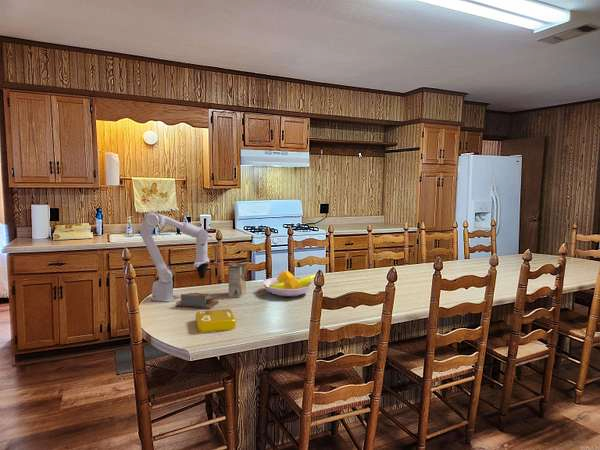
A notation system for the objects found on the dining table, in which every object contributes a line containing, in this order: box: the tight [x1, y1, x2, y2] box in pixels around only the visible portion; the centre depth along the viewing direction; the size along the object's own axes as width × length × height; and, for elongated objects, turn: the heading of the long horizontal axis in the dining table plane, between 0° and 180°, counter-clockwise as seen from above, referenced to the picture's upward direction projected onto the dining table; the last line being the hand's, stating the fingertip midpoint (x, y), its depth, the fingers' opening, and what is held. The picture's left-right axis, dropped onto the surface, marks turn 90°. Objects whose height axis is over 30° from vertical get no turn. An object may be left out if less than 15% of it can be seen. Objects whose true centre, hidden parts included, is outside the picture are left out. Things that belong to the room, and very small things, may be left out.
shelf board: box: [175, 300, 219, 311], centre depth 191 cm, size 17×10×1 cm, turn 80°
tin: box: [187, 292, 215, 304], centre depth 194 cm, size 15×3×8 cm
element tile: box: [195, 308, 236, 333], centre depth 166 cm, size 15×15×5 cm
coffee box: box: [228, 262, 247, 299], centre depth 208 cm, size 9×6×16 cm
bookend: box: [180, 293, 206, 310], centre depth 187 cm, size 12×1×6 cm, turn 80°
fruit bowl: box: [262, 270, 317, 297], centre depth 213 cm, size 28×27×11 cm
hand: (201, 278), depth 205 cm, fingers closed
